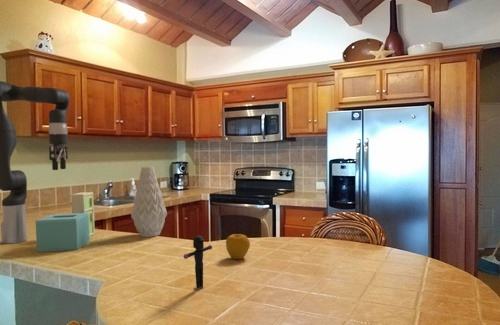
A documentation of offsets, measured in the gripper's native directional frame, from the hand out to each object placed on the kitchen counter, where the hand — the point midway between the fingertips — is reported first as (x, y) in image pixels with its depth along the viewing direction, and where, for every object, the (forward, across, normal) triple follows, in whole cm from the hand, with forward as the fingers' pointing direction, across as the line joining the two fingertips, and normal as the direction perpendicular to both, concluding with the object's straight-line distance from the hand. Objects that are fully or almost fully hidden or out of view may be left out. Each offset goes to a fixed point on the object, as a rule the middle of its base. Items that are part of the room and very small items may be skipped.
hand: (59, 169), depth 170 cm
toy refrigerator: (+33, -12, +6) cm, 36 cm away
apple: (+32, +42, +78) cm, 94 cm away
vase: (+33, -7, +38) cm, 51 cm away
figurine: (+32, +71, +65) cm, 101 cm away
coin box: (+33, +8, +4) cm, 34 cm away
